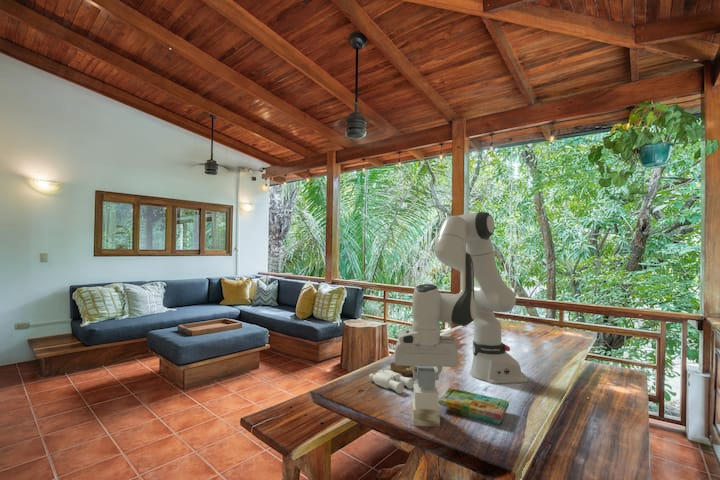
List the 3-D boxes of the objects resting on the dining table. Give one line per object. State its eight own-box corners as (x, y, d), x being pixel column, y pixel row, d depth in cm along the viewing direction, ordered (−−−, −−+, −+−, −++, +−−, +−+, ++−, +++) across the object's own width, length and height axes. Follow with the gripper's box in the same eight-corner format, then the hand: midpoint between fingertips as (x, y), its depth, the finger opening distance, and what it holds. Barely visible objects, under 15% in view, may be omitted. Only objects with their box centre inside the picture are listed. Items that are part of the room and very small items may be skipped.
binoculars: (397, 395, 128) (397, 383, 128) (366, 383, 139) (366, 371, 140) (414, 388, 135) (414, 375, 135) (384, 376, 147) (384, 365, 147)
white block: (435, 399, 113) (435, 384, 113) (438, 410, 106) (438, 393, 106) (413, 398, 114) (413, 383, 114) (415, 408, 107) (415, 392, 107)
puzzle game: (501, 413, 105) (438, 397, 116) (501, 428, 105) (438, 411, 116) (508, 398, 115) (449, 385, 126) (508, 413, 115) (449, 398, 126)
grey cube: (432, 381, 113) (432, 366, 113) (434, 387, 108) (435, 371, 108) (417, 381, 113) (417, 365, 113) (418, 387, 108) (418, 371, 108)
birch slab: (436, 414, 114) (436, 399, 114) (439, 427, 106) (439, 410, 106) (411, 413, 114) (411, 398, 114) (413, 426, 106) (413, 409, 106)
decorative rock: (381, 373, 151) (410, 383, 141) (381, 364, 151) (410, 374, 141) (397, 365, 160) (425, 374, 150) (397, 356, 160) (425, 365, 149)
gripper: (456, 334, 113) (456, 376, 113) (394, 332, 115) (393, 374, 114) (461, 339, 107) (461, 384, 107) (394, 337, 108) (394, 382, 108)
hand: (425, 379), depth 111 cm, fingers closed on grey cube, 5 cm apart
